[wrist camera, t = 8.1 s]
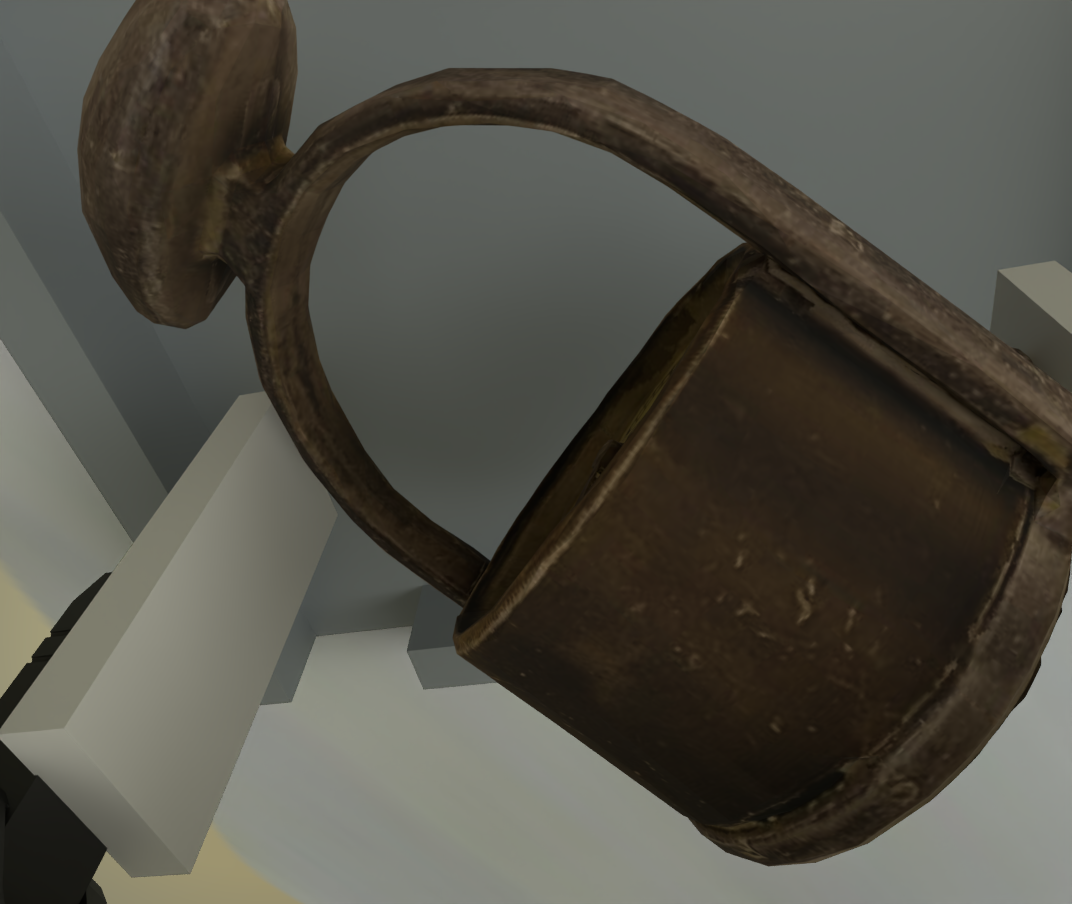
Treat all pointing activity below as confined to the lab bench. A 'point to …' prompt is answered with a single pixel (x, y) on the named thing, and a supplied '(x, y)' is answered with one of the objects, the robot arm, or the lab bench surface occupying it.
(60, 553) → the lab bench surface
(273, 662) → the robot arm
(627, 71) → the dock
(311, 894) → the lab bench surface
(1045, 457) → the bucket with arched handle
